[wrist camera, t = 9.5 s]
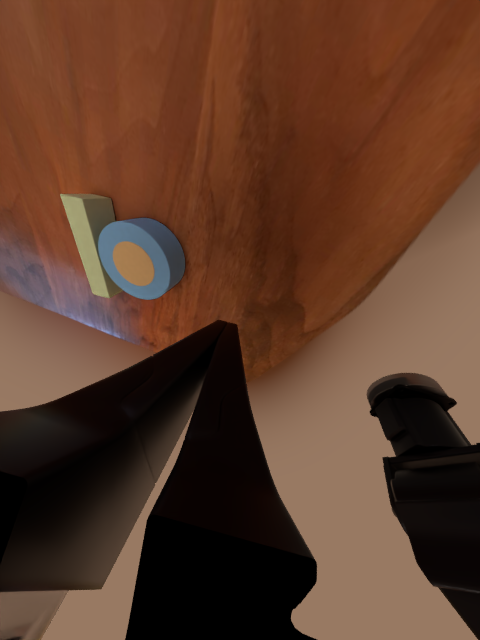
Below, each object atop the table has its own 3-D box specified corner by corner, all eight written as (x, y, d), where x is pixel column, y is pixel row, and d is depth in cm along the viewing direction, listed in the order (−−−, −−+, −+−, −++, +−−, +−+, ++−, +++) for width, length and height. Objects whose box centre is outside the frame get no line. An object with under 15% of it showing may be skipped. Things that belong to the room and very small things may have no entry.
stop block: (111, 197, 17) (81, 198, 15) (129, 287, 22) (109, 298, 20) (91, 193, 18) (59, 193, 15) (114, 283, 23) (92, 294, 20)
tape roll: (185, 226, 17) (166, 231, 15) (185, 294, 21) (171, 307, 19) (115, 210, 18) (86, 213, 15) (129, 279, 22) (108, 290, 19)
